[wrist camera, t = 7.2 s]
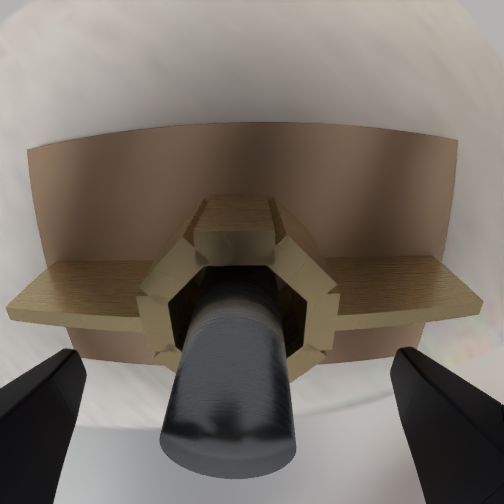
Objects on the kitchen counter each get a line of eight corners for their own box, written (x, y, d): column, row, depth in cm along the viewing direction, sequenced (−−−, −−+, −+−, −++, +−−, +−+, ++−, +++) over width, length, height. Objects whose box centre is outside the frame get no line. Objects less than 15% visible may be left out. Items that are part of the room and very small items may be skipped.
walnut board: (446, 138, 12) (457, 140, 12) (409, 343, 17) (415, 353, 16) (38, 147, 12) (26, 149, 11) (83, 347, 17) (77, 357, 16)
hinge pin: (274, 233, 13) (303, 412, 5) (273, 291, 14) (290, 478, 6) (207, 233, 13) (144, 408, 5) (211, 292, 14) (174, 474, 6)
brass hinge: (441, 199, 13) (501, 232, 9) (418, 313, 15) (457, 367, 11) (44, 207, 13) (-15, 241, 8) (72, 318, 15) (33, 371, 11)
